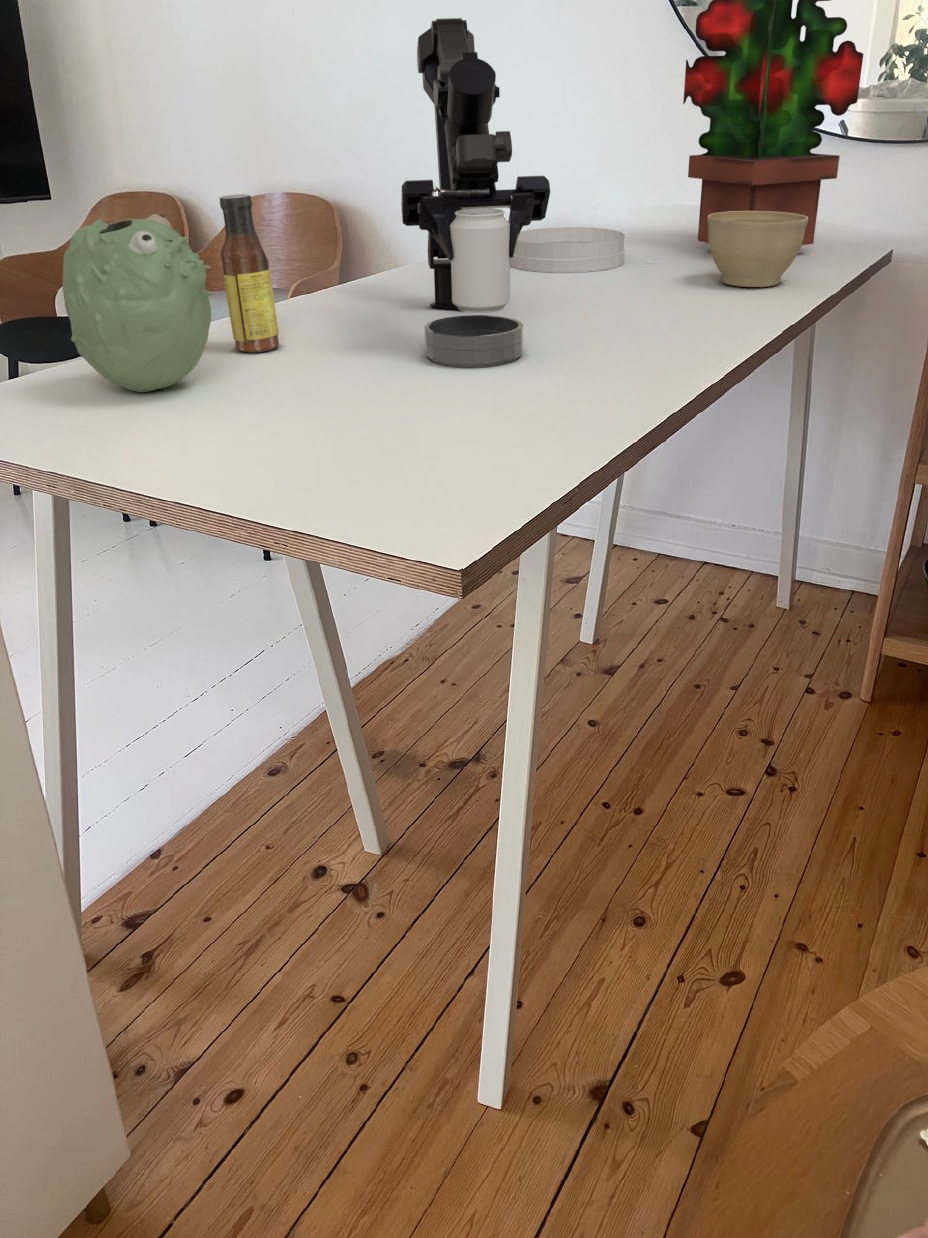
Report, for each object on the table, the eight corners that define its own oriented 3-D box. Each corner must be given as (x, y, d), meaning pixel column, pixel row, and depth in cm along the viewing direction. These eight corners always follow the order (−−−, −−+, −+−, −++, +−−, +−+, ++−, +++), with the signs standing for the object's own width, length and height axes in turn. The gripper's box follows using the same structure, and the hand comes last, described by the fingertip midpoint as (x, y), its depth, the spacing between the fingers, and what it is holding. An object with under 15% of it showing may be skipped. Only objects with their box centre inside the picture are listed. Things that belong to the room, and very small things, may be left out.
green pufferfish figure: (120, 368, 139) (91, 205, 129) (249, 376, 134) (229, 207, 124) (44, 401, 126) (6, 223, 116) (184, 412, 120) (156, 226, 111)
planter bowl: (795, 294, 171) (804, 223, 166) (695, 290, 176) (700, 220, 171) (804, 276, 185) (812, 210, 180) (710, 273, 190) (715, 208, 185)
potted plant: (673, 250, 214) (690, -9, 193) (762, 240, 222) (787, -9, 201) (743, 265, 196) (770, -18, 175) (836, 255, 204) (872, -18, 183)
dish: (643, 257, 207) (644, 230, 204) (592, 276, 190) (593, 246, 188) (543, 250, 217) (543, 224, 215) (487, 267, 201) (486, 239, 199)
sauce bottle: (288, 344, 149) (272, 192, 139) (266, 355, 143) (248, 198, 134) (246, 342, 151) (228, 192, 141) (224, 352, 145) (203, 197, 136)
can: (462, 300, 142) (460, 205, 136) (516, 303, 140) (516, 206, 134) (444, 312, 136) (441, 213, 130) (501, 315, 134) (500, 214, 128)
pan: (408, 362, 138) (406, 331, 136) (455, 341, 148) (454, 312, 146) (495, 372, 133) (495, 340, 131) (538, 349, 142) (539, 319, 141)
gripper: (398, 109, 129) (408, 217, 125) (548, 104, 131) (564, 211, 126) (397, 172, 140) (407, 274, 136) (537, 167, 142) (551, 268, 137)
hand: (481, 256), depth 133 cm, fingers closed on can, 7 cm apart
